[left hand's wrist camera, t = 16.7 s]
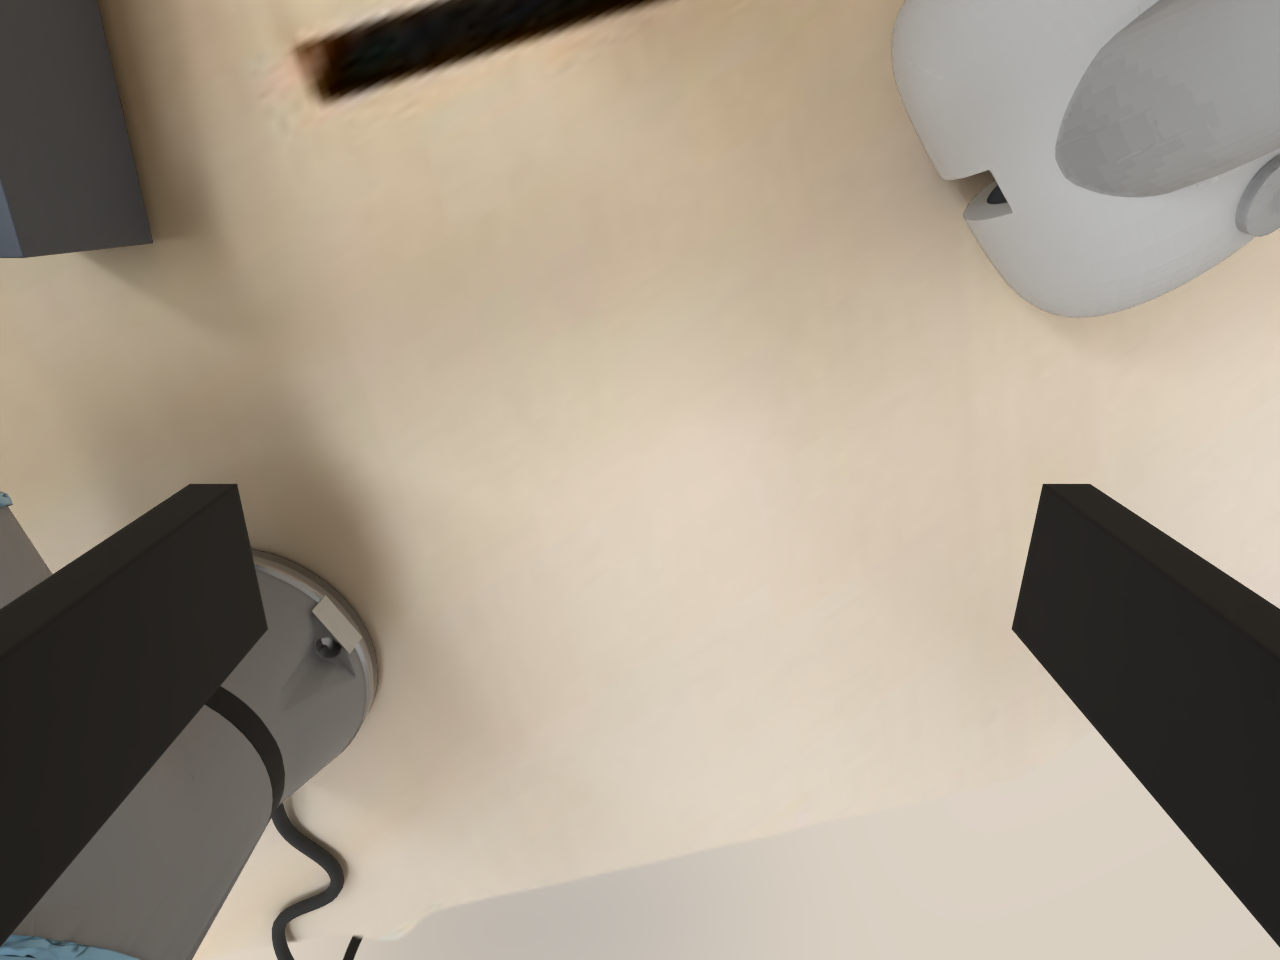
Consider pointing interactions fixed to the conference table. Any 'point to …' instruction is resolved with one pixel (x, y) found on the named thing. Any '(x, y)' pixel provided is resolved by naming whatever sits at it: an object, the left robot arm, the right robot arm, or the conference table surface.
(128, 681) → the left robot arm
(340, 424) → the conference table surface
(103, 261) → the conference table surface
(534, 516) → the conference table surface
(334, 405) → the conference table surface
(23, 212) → the bar
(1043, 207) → the projector
